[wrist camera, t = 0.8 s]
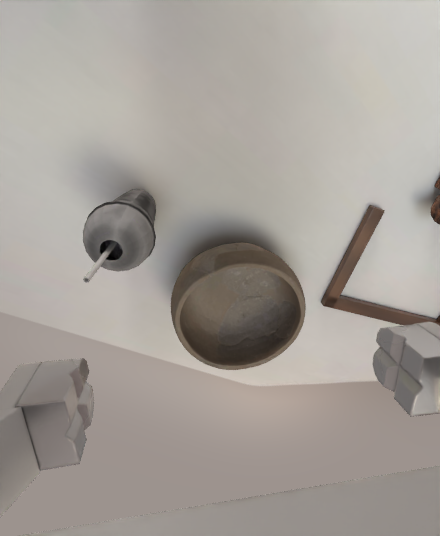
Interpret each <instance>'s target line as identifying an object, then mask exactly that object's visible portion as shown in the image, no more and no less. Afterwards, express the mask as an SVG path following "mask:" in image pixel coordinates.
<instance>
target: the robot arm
mask: <svg viewBox="0 0 440 536" xmlns="http://www.w3.org/2000/svg"><path fill="white" fill-rule="evenodd" d="M376 341H377V343H378V345H379V346H380V348H379V349H378V350H377V351H376V352H375V354H374V358H373V368H374V372H375V375H376V377H377V379H378V381H379V382H380V383H381V384H382V385H383V386H384V387H385V388H387V389H389V390H391V391H393V392H394V399H395V400H396V401H397V402H398V403H399V404H400V405H401V407H402V408H403V409H404V410H405V411H406V412H407V413H408V414H409V415H410V416H421V415H430V414H439V413H440V326H439V325H438V324H436V323H433V322H424V323H417V324H412V325H404V326H396V327H387V328H381V329H380V330H379V332H378V334H377V339H376ZM88 374H89V369H88V365H87V361H86V360H85V359H84V358H82V359H71V360H58V361H46V362H35V363H26V364H21V365H19V366H18V367H17V368H16V370H15V371H14V373H13V374H12V375H11V377H10V378H9V380H8V381H7V383H6V384H5V386H4V387H3V389H2V390H1V392H0V518H1V516H2V515H3V514H4V513H5V512H6V511H7V510H8V509H9V507H10V506H11V505H12V504H13V503H14V502H15V501H16V500H17V498H18V497H19V496H20V495H21V494H22V493H23V492H24V491H25V489H26V488H27V487H28V486H29V485H30V484H31V483H32V481H34V479H35V478H36V477H37V476H38V475H39V474H40V471H41V470H46V469H52V468H58V467H64V466H69V465H76V464H80V461H81V457H82V454H83V450H84V447H85V443H86V435H85V429H86V428H88V427H89V426H90V424H91V421H92V417H93V409H94V397H93V389H92V386H91V385H90V384H89V383H87V382H86V380H87V377H88ZM20 536H440V466H435V467H429V468H423V469H417V470H411V471H405V472H399V473H393V474H387V475H381V476H375V477H368V478H363V479H357V480H350V481H344V482H338V483H333V484H326V485H320V486H315V487H309V488H302V489H296V490H290V491H284V492H279V493H272V494H266V495H260V496H255V497H249V498H242V499H236V500H231V501H224V502H219V503H212V504H206V505H201V506H195V507H188V508H182V509H176V510H171V511H164V512H159V513H152V514H146V515H140V516H134V517H128V518H122V519H116V520H111V521H104V522H98V523H92V524H86V525H80V526H74V527H68V528H62V529H57V530H50V531H44V532H39V533H32V534H26V535H20Z"/></svg>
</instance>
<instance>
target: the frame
mask: <svg viewBox="0 0 440 536" xmlns="http://www.w3.org/2000/svg"><path fill="white" fill-rule="evenodd" d="M383 213H384V210H382V209H381V208H377V207H374V206H371V205H370V206H369V208H368V210H367V212H366V214H365V216H364V218H363V220H362V222H361V224H360V226H359V228H358V230H357V232H356V234H355V236H354V238H353V240H352V241H351V243H350V245H349V247H348V249H347V251H346V253H345V255H344V257H343V259H342V261H341V263H340V265H339V267H338V269H337V271H336V273H335V275H334V277H333V279H332V281H331V283H330V285H329V287H328V289H327V291H326V293H325V295H324V297H323V299H322V301H321V303H322V304H323V306H327V307H331V308H335V309H339V310H343V311H347V312H351V313H355V314H359V315H363V316H368V317H372V318H376V319H380V320H384V321H388V322H392V323H396V324H400V325H412V324H417V323H424V322H433V323H436V324H438V325H439V326H440V316H439V317H438V319H433V318H429V317H425V316H421V315H417V314H413V313H409V312H405V311H401V310H397V309H393V308H389V307H385V306H381V305H377V304H373V303H369V302H365V301H361V300H357V299H353V298H349V297H345V296H341V293H342V291H343V289H344V287H345V285H346V283H347V281H348V279H349V278H350V276H351V274H352V272H353V270H354V268H355V266H356V264H357V262H358V260H359V259H360V257H361V255H362V253H363V251H364V249H365V247H366V245H367V243H368V242H369V240H370V238H371V236H372V234H373V232H374V230H375V228H376V226H377V225H378V223H379V221H380V219H381V217H382V215H383Z"/></svg>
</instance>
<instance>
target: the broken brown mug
mask: <svg viewBox="0 0 440 536" xmlns="http://www.w3.org/2000/svg"><path fill="white" fill-rule="evenodd" d="M435 187H436V188H438V189H439V190H440V178H439V180H438V181H437V183H436V185H435ZM431 216H432V218H433V220H434V221H435V222H436V223H438V224H440V195H438V196H437V197H436V199H435V202H434V204H433V205H432V207H431Z"/></svg>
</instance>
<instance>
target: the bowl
mask: <svg viewBox="0 0 440 536" xmlns="http://www.w3.org/2000/svg"><path fill="white" fill-rule="evenodd" d="M171 314H172V320H173V325H174V328H175V331H176V334H177V336H178V338H179V340H180V342H181V343H182V345H183V346H184V348H185V349H186V350H187V351H188V352H189V353H190V354H191V355H193V356H194V357H195V358H196V359H198V360H199V361H201V362H203V363H205V364H207V365H210V366H212V367H216V368H219V369H226V370H238V369H246V368H250V367H255V366H258V365H261V364H264V363H266V362H268V361H270V360H272V359H274V358H275V357H277V356H278V355H280V354H281V353H282V352H284V351H285V350H286V349H287V348H288V347H289V346H290V345H291V344H292V343H293V342H294V340H295V339H296V338H297V336H298V334H299V332H300V330H301V328H302V325H303V322H304V317H305V298H304V294H303V290H302V287H301V285H300V282H299V280H298V278H297V276H296V275H295V273H294V272H293V271H292V269H291V268H290V267H289V266H288V265H287V264H286V263H285V262H284V261H283V260H282V259H281V258H280V257H278V256H277V255H275V254H274V253H272V252H270V251H268V250H266V249H263V248H261V247H259V246H257V245H254V244H251V243H241V242H240V243H231V244H223V245H220V246H217V247H214V248H211V249H209V250H206V251H204V252H202V253H200V254H199V255H197V256H196V257H195V258H193V259H192V260H191V261H190V262H189V263H188V264H187V265H186V266H185V267H184V268H183V270H182V271H181V273H180V275H179V276H178V278H177V281H176V283H175V286H174V289H173V292H172V298H171Z"/></svg>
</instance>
